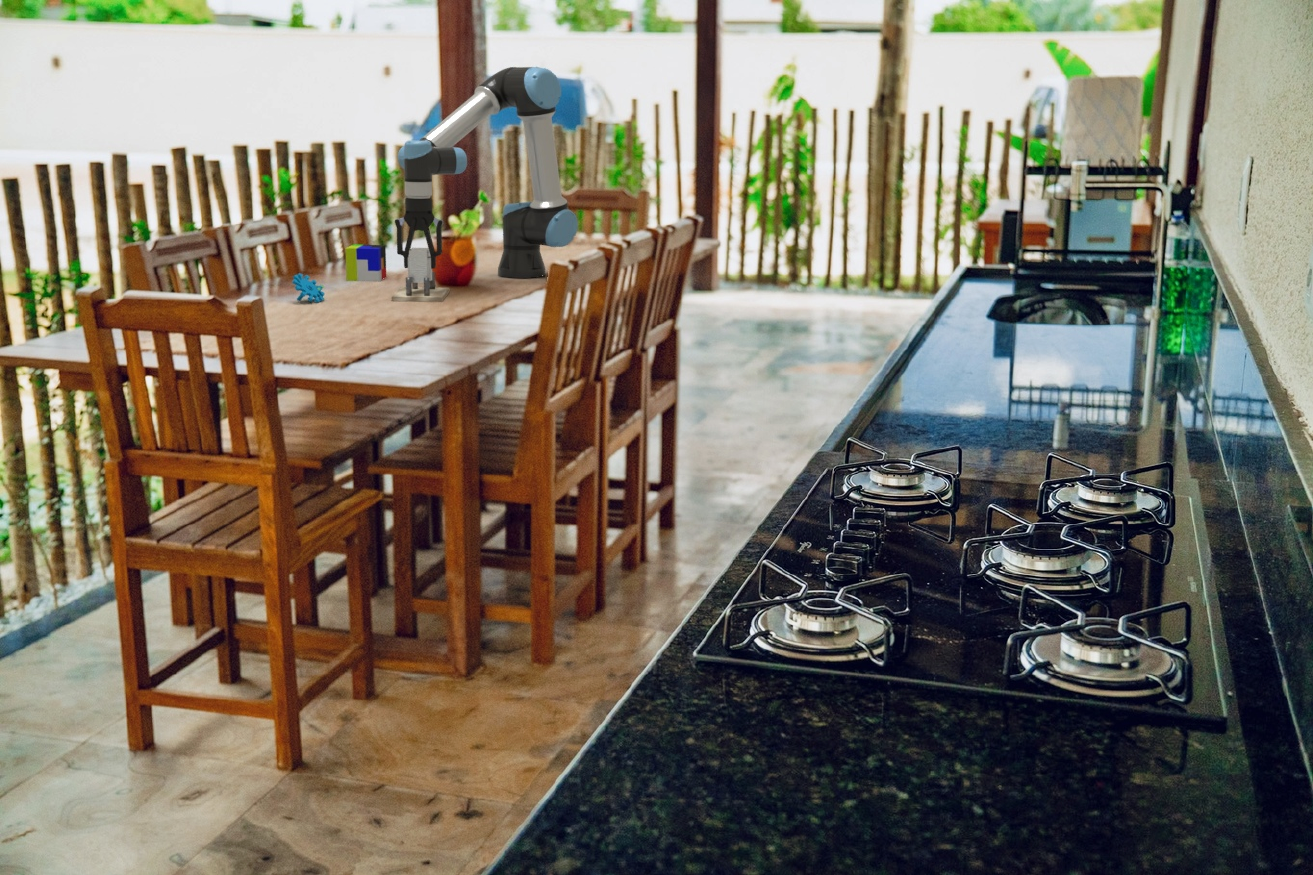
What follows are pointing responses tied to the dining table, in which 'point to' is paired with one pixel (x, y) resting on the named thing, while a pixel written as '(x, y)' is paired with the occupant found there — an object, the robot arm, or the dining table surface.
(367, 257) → the puzzle toy
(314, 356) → the dining table surface
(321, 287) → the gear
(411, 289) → the peg fixture base
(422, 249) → the jaw block
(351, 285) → the dining table surface
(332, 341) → the dining table surface
